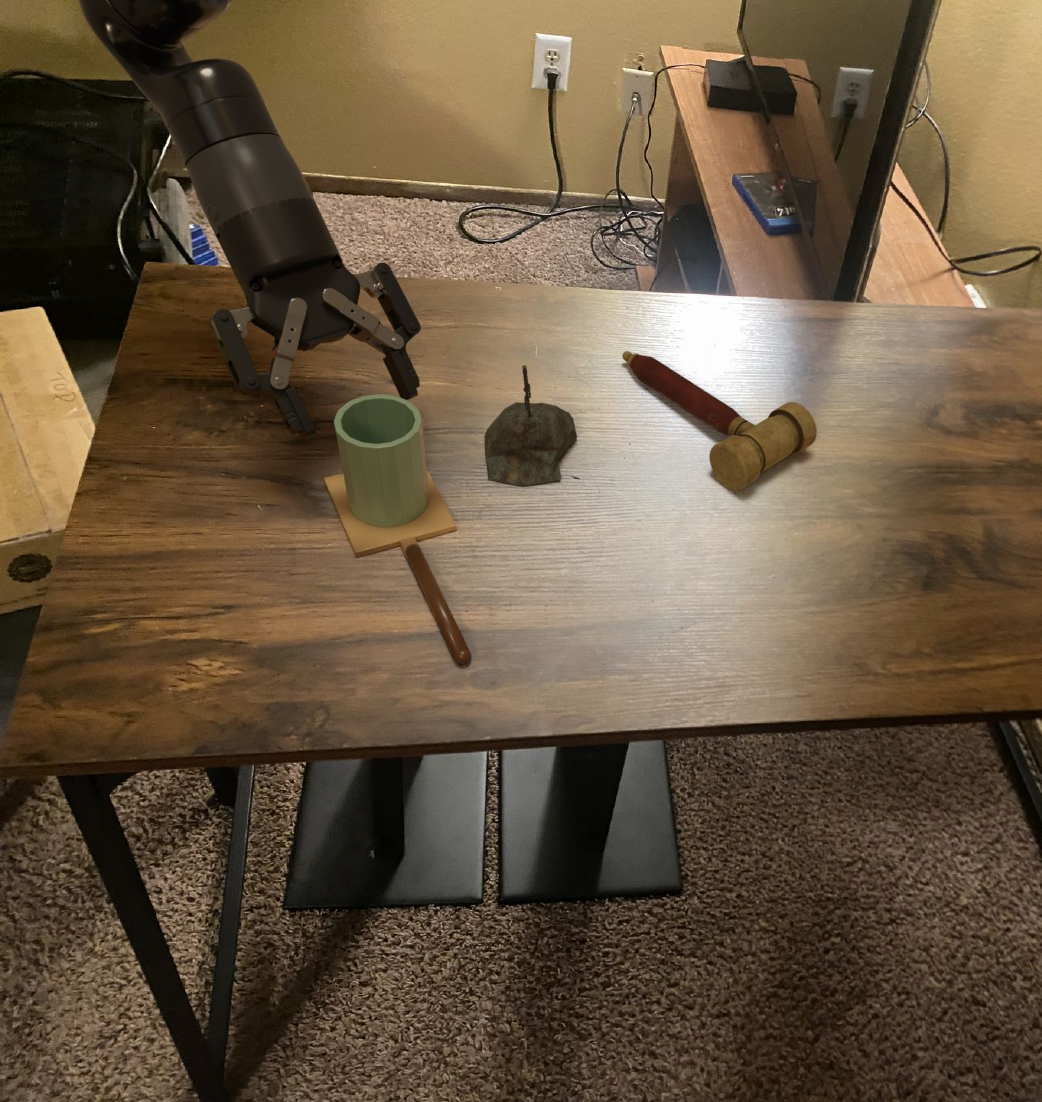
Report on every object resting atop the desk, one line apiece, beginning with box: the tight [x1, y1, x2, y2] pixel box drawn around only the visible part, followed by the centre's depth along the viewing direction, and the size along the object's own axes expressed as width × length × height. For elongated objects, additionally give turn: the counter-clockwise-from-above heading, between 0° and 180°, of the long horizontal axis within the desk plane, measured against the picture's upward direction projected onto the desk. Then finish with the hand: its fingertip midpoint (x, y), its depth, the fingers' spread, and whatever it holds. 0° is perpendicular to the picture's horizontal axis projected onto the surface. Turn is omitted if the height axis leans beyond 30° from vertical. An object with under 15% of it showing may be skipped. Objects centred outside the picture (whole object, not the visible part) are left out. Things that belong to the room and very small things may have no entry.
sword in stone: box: [483, 364, 578, 487], centre depth 84 cm, size 10×8×12 cm
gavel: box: [622, 350, 818, 491], centre depth 94 cm, size 21×5×10 cm
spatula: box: [323, 467, 472, 665], centre depth 77 cm, size 22×8×1 cm, turn 31°
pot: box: [333, 393, 429, 527], centre depth 78 cm, size 6×6×8 cm
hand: (361, 417), depth 77 cm, fingers open, 8 cm apart
